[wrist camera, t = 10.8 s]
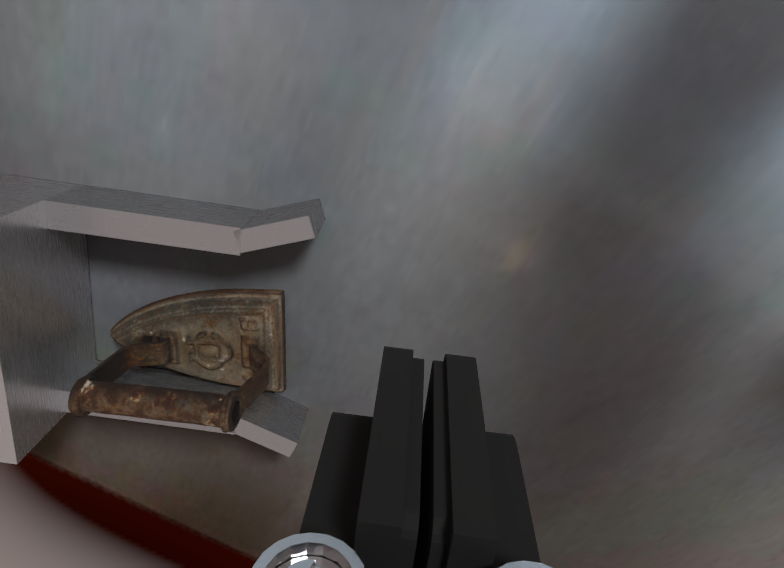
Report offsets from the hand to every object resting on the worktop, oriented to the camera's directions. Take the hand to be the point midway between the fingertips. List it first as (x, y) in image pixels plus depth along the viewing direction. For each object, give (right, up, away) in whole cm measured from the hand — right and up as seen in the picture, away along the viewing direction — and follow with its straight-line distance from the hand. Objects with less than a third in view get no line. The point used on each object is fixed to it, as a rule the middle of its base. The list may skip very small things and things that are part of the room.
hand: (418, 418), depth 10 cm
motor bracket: (-14, +1, +23) cm, 27 cm away
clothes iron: (-12, 0, +25) cm, 28 cm away
